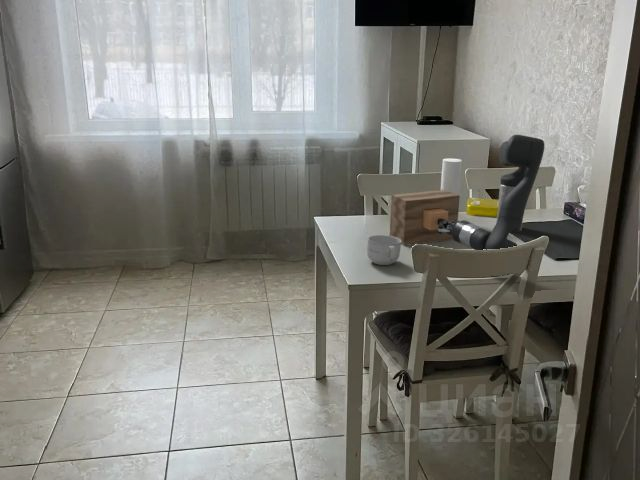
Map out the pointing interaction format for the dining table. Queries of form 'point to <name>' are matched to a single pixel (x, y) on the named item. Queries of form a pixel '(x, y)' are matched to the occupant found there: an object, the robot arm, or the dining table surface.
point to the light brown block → (433, 218)
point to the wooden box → (420, 215)
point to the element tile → (482, 207)
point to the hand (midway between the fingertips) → (439, 221)
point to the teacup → (383, 249)
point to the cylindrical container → (451, 175)
